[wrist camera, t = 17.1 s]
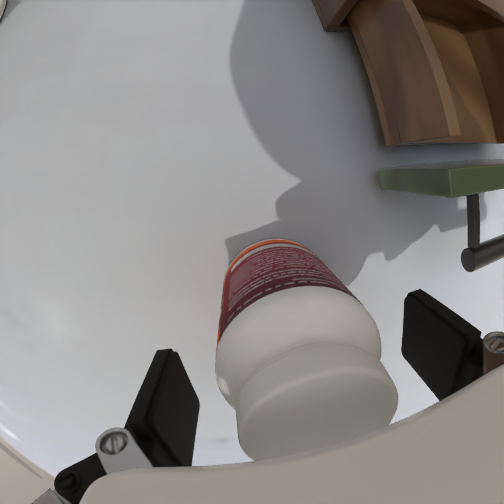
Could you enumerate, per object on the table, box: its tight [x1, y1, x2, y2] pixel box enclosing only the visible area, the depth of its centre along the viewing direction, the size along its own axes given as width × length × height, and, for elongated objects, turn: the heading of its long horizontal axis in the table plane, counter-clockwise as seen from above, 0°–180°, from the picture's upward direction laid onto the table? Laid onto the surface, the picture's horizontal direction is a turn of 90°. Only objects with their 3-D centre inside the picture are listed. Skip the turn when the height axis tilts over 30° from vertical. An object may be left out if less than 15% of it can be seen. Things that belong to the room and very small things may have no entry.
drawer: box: [346, 0, 504, 272], centre depth 10 cm, size 18×13×6 cm
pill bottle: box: [215, 238, 398, 461], centre depth 11 cm, size 6×6×11 cm
